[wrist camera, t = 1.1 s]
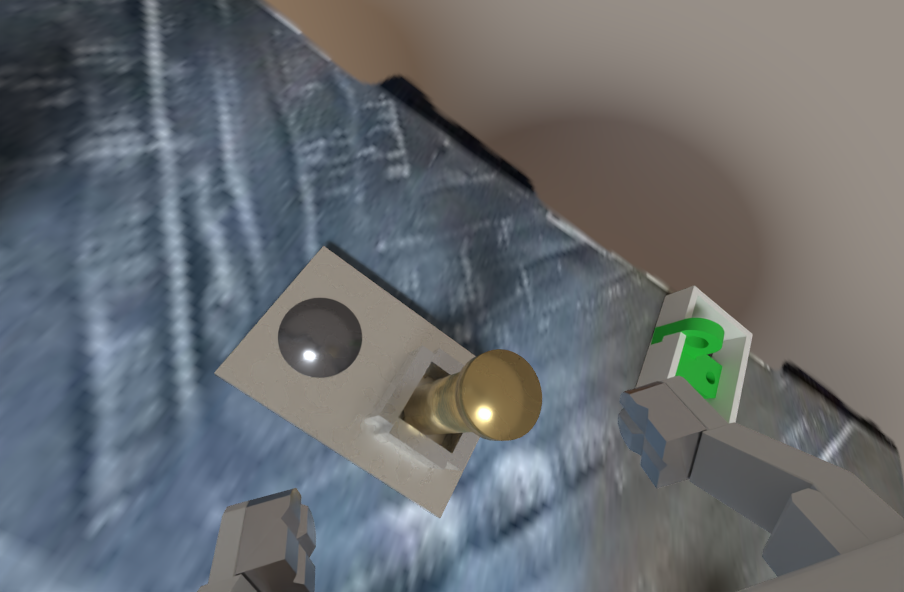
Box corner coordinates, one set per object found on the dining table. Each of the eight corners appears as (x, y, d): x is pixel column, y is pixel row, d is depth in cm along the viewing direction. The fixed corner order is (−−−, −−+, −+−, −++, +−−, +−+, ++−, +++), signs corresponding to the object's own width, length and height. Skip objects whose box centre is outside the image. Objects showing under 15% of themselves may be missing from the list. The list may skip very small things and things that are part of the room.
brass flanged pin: (385, 419, 44) (447, 407, 30) (417, 366, 47) (488, 332, 33) (437, 454, 45) (520, 458, 31) (465, 399, 48) (554, 381, 34)
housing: (215, 375, 40) (210, 365, 36) (321, 251, 48) (329, 229, 43) (434, 516, 44) (456, 524, 40) (501, 381, 52) (526, 374, 47)
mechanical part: (645, 363, 61) (696, 352, 54) (655, 327, 64) (704, 313, 57) (707, 407, 63) (763, 402, 57) (714, 371, 66) (768, 362, 59)
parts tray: (632, 398, 59) (662, 394, 54) (665, 295, 67) (694, 285, 63) (696, 446, 61) (730, 447, 56) (720, 341, 69) (752, 334, 65)
